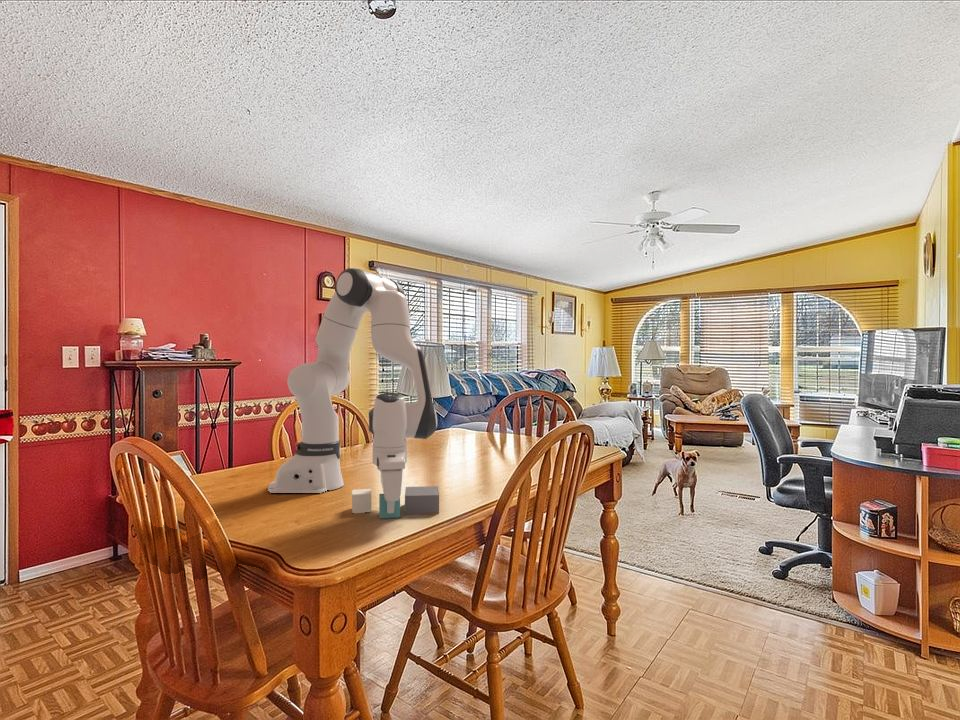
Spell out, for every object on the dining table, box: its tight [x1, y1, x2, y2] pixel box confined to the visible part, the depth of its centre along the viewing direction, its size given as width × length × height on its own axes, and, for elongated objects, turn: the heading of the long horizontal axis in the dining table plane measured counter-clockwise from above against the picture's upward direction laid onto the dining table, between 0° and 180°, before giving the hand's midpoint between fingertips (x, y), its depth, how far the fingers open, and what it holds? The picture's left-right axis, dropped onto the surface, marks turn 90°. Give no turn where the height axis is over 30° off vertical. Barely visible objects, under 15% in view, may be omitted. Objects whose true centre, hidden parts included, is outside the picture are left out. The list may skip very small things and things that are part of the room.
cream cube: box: [351, 488, 372, 514], centre depth 143 cm, size 5×5×5 cm
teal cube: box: [378, 493, 401, 519], centre depth 139 cm, size 5×5×5 cm
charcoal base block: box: [404, 485, 440, 515], centre depth 145 cm, size 9×9×5 cm
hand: (389, 508), depth 139 cm, fingers closed on teal cube, 5 cm apart
